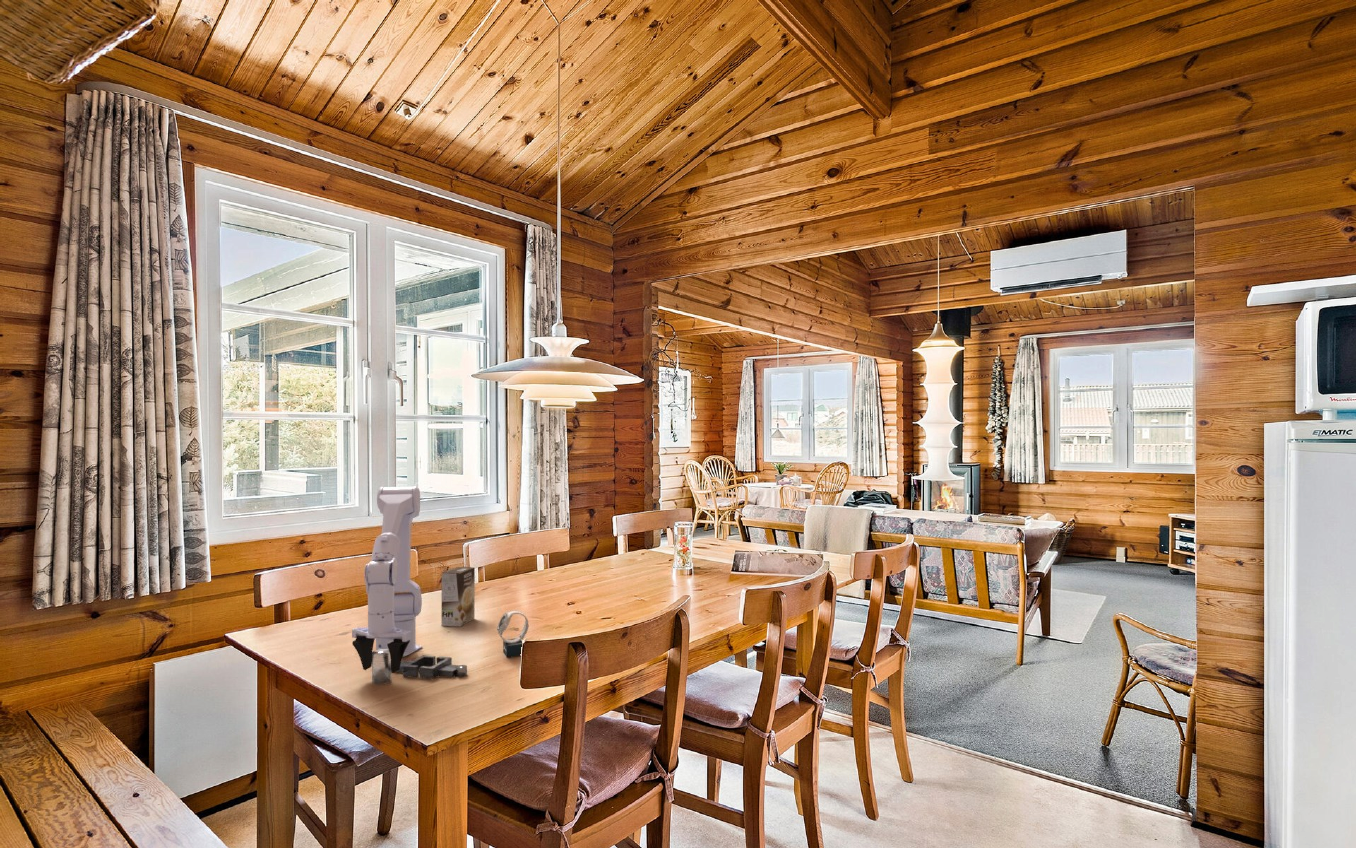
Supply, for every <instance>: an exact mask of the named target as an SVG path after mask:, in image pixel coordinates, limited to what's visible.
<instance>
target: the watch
mask: <svg viewBox="0 0 1356 848" xmlns="http://www.w3.org/2000/svg"><path fill="white" fill-rule="evenodd" d="M513 615H520V616H522V617H523V618H524V620H525V621H524V624H523V627H522V630H521V631H520V633H519V636H518V637H516V638H508V639H507V638H505V637H503V636H502V635H503V633H504V632H505V631H506V630H507V628H508V626H509V625H510V622H511V619H512V617H513ZM529 627H530V625H529V620H528V618H527V616H526V615H525V614H524V613H523V612H521V611H520V610H510V611H508V612H505V613H504V614H503V615H502V616H501V618H500V619H499V621H498V625H497V627H496V630H497V632H498V635H499V637H500V638H501V640H502V645H503V646H502V647H503V648H502V652H503V654H504V656H505V657H506V659H510V658H516V657H517V658H518V657H521V656H520V654H521V647H522V642H523V641H522V640H523V639H524V638H525V636H526V634H527V633H528V630H529Z"/></svg>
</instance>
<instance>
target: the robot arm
mask: <svg viewBox="0 0 1356 848" xmlns="http://www.w3.org/2000/svg"><path fill="white" fill-rule="evenodd" d="M376 496H377V497H376V502H377V504H376V505H377V508H378V509H379V512H380V514H381V515H383V516H382V525H381V534H379V535H378V536H376V537H375V540H374V543H373V548H372V552H371V557H370V561H369V563H366V564H365V567H364V573H363V574H364V584H365V593H366V594H367V627H365V626H363V627H360V626H359V627H355V628H352V629H351V638H352V639H353V638H354V639H355V640H353V641H352V646H353V648H354V649H355V651H356V652H357V654H358V656H359V659H360V662H361V666H362V669H363V670H364V671H367V670H368V669H370V668H372V652H373V651H374V649H373V648H374V644H375V651H376V650H380V649H389V652H390V658H391V673H397V672H396V671H398V670H399V669H400V665H401V662H402V661H403V657H407V656H409V655H411V654H412V653H413V654H414V653H415V652H416V651H418V650H420V649H422V648H423V645H420V644H417V643H416V642H417V641H416V636H417V635H416V617H418V616H419V615H420V614H421V611H422V606H423V600H422V599H423V598H422V589H421V586H420V585H419V584H418V583H416V582H415V581H414V580H412V579H411V560H412V559H411V558H412V557H411V554H412V553H411V552H412V551H411V549H412V547H411V545H412V524H413V519H414V518H417V517H419V515H420V512H421V491H420V488H419V487H418V486H417V485H415V486H390V487H389V486H388V487H387V486H386V487H385V486H380V487H379V489H378V491H377V495H376Z"/></svg>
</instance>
